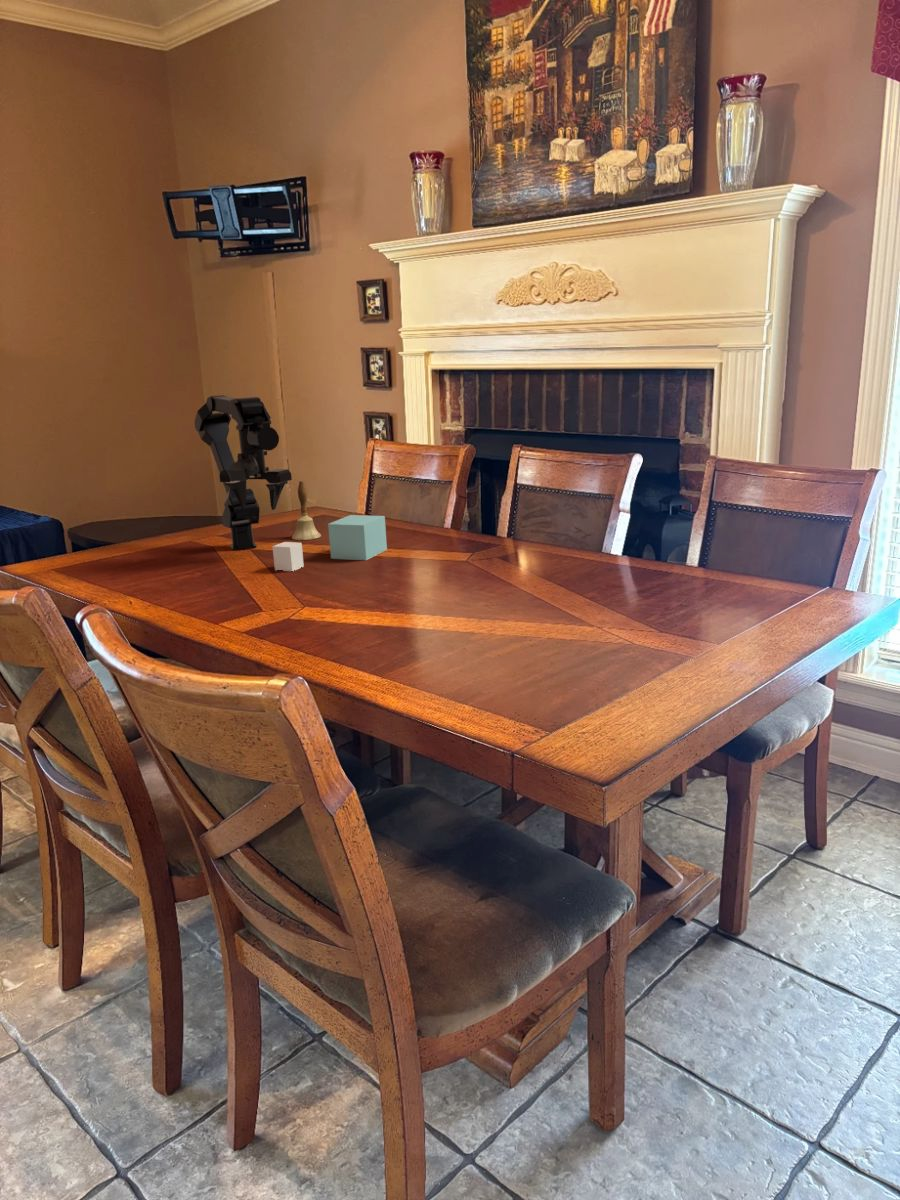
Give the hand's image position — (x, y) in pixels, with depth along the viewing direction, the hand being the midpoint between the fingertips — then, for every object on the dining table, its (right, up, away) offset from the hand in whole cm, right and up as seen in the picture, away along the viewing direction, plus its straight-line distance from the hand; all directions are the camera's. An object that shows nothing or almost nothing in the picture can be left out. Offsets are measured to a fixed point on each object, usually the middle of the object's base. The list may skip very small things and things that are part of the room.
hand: (258, 509), depth 220 cm
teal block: (+26, -12, -1) cm, 29 cm away
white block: (+10, -16, -13) cm, 23 cm away
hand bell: (+9, -6, +22) cm, 25 cm away
